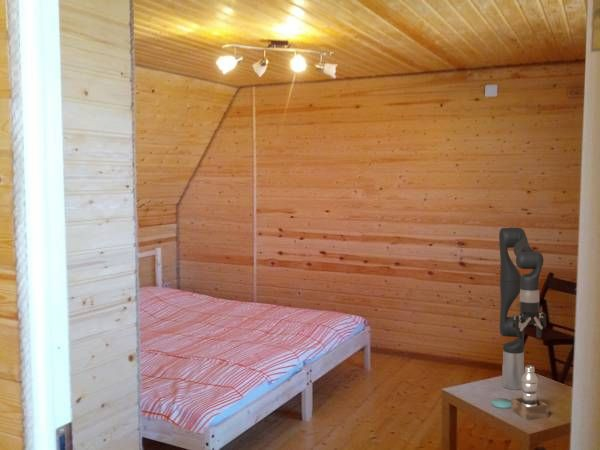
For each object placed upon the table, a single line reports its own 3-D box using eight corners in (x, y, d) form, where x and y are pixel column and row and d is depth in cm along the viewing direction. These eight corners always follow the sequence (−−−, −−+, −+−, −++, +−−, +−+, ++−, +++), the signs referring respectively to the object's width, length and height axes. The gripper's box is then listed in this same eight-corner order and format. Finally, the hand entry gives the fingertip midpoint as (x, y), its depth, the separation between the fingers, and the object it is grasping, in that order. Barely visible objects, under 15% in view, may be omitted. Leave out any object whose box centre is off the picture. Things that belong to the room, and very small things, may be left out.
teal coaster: (487, 402, 265) (487, 399, 265) (506, 399, 267) (506, 397, 267) (499, 409, 256) (499, 407, 256) (517, 407, 258) (517, 404, 258)
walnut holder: (511, 410, 255) (511, 398, 255) (532, 407, 257) (532, 396, 257) (526, 420, 244) (526, 408, 244) (548, 417, 247) (548, 405, 246)
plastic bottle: (517, 412, 253) (517, 365, 251) (530, 409, 255) (530, 363, 254) (528, 417, 247) (528, 370, 245) (541, 415, 249) (541, 367, 248)
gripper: (539, 297, 252) (539, 334, 254) (508, 299, 249) (508, 338, 250) (550, 300, 245) (550, 339, 246) (519, 303, 242) (519, 342, 243)
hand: (529, 338), depth 248 cm, fingers open, 8 cm apart
